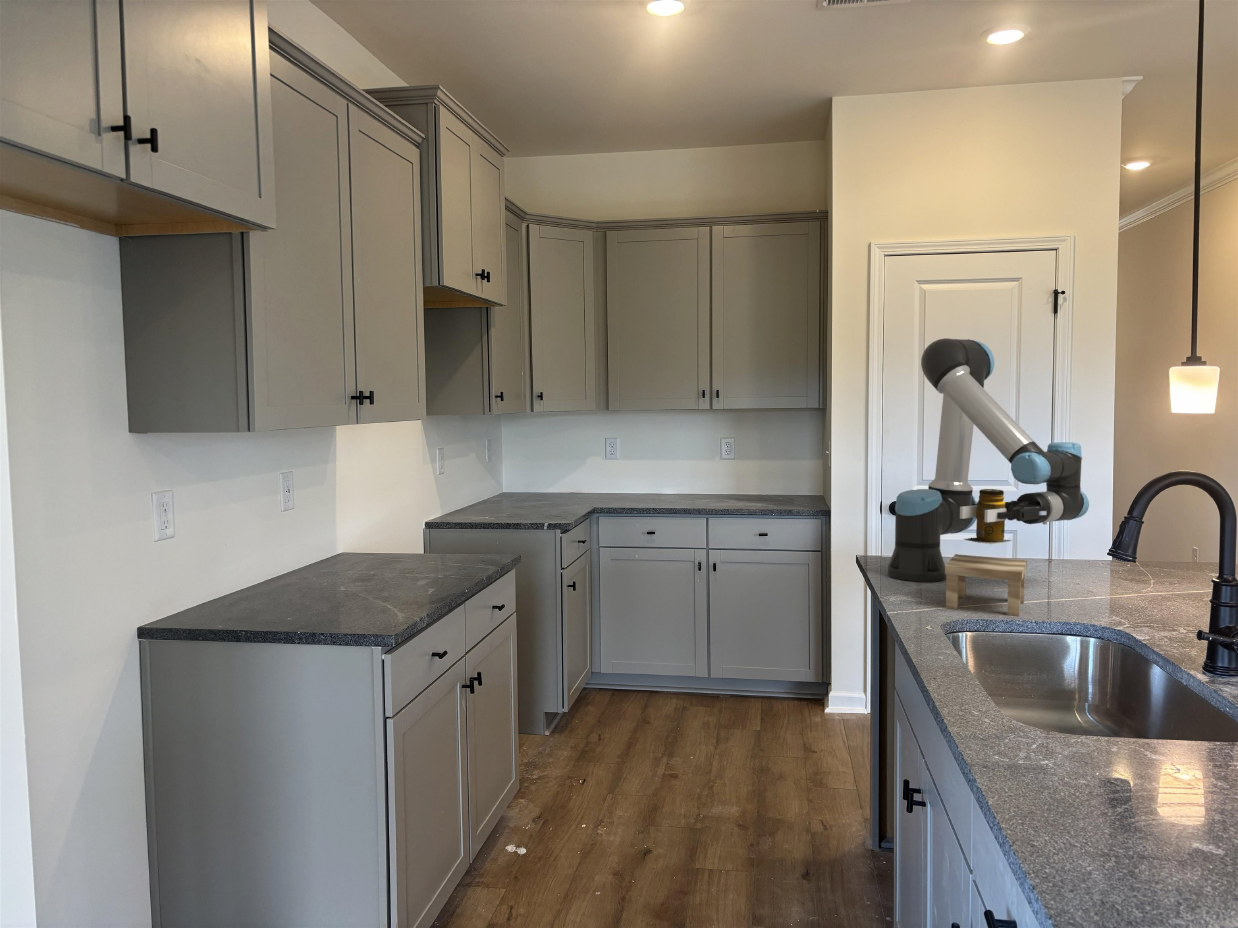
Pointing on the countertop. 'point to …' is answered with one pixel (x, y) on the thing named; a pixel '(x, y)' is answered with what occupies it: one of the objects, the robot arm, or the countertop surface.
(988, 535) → the condiment
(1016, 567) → the stool
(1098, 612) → the countertop surface
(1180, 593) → the countertop surface
